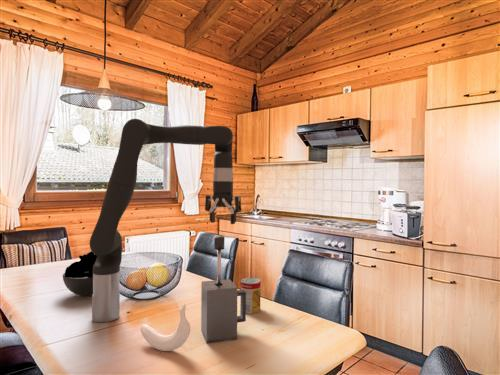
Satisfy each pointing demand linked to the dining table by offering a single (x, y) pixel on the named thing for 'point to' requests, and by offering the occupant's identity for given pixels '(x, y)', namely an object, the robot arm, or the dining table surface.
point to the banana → (170, 340)
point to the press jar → (221, 310)
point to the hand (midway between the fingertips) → (222, 223)
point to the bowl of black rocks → (81, 275)
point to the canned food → (251, 294)
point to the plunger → (219, 255)
